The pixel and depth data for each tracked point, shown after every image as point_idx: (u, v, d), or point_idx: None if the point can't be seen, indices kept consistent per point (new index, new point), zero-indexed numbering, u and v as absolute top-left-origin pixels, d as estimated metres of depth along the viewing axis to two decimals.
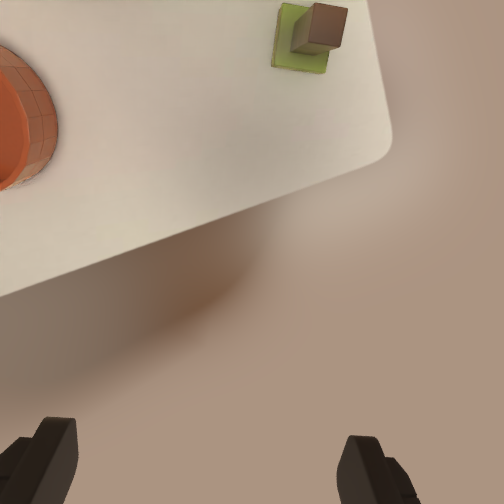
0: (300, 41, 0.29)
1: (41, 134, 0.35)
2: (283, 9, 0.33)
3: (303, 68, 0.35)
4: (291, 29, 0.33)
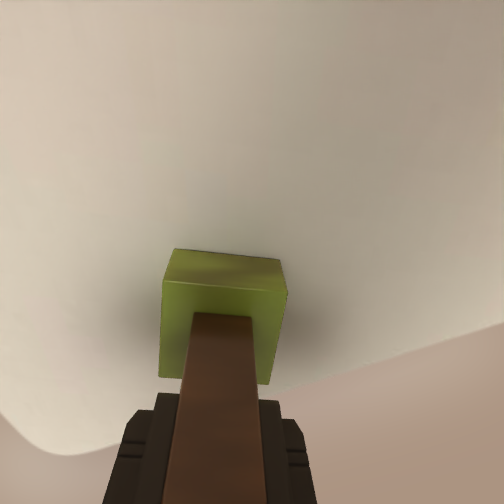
0: (186, 429, 0.10)
1: None
2: (275, 293, 0.15)
3: (162, 339, 0.15)
4: (237, 311, 0.15)
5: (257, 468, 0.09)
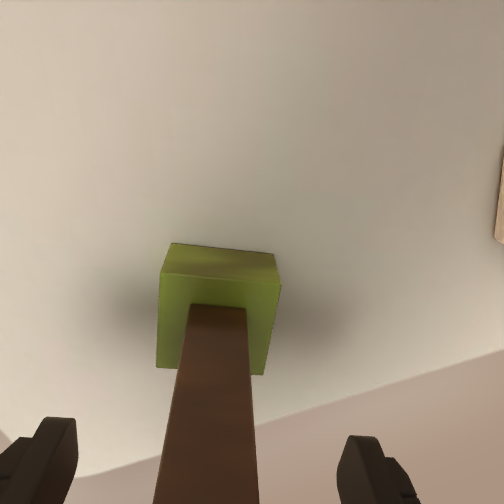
0: (182, 411, 0.10)
1: None
2: (269, 285, 0.15)
3: (160, 329, 0.16)
4: (232, 303, 0.15)
5: (249, 446, 0.10)
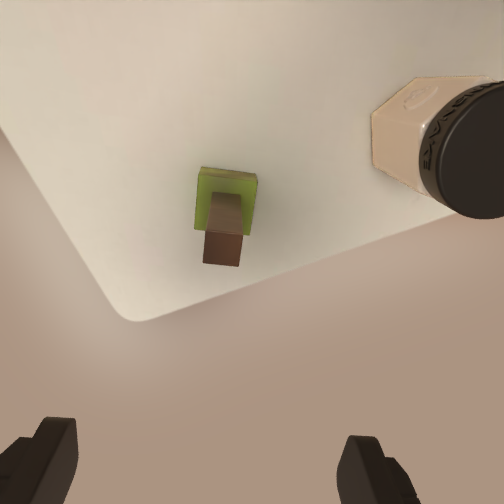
0: (213, 212, 0.26)
1: None
2: (251, 182, 0.31)
3: (197, 206, 0.32)
4: (233, 191, 0.31)
5: (239, 220, 0.25)
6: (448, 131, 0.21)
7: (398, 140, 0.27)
